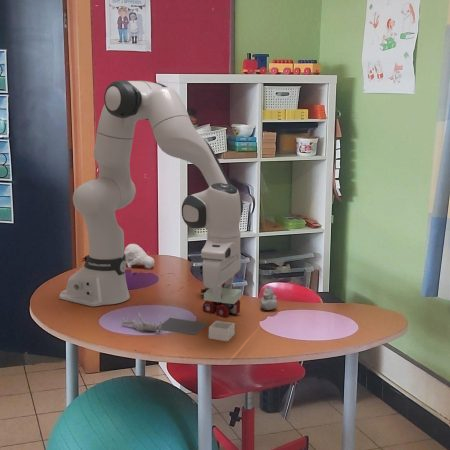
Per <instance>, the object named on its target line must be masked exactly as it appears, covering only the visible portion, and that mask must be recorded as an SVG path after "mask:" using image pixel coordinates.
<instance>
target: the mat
mask: <svg viewBox="0 0 450 450" xmlns="http://www.w3.org/2000/svg"><path fill="white" fill-rule="evenodd" d="M161 324H162V329H161V331H163V332H171V333H178V334H185V335H192V336H197V334H199V333H200V332H201V331H202V330H203V329H204V328H205V327H206V326H207V325H209V323H208V322H201V321H195V320H187V319H182V318H181V319H180V318H175V317H174V318H173V317H169V318H168V319H166V320H165V321H164V322H162V323H161Z"/></svg>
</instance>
